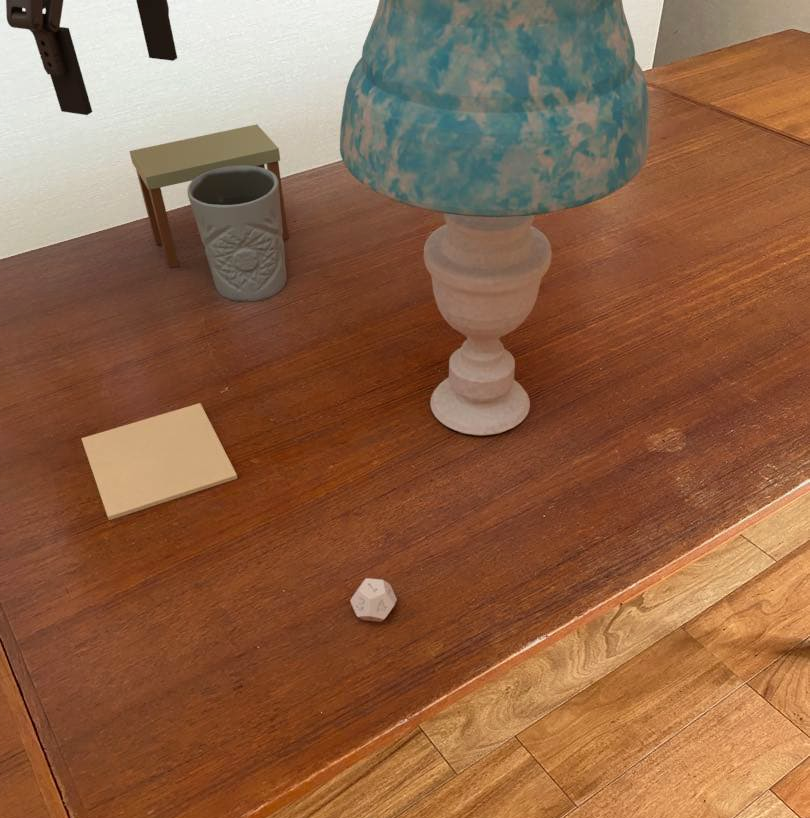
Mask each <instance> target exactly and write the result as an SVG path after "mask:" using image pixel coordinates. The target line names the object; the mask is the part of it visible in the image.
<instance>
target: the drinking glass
mask: <svg viewBox="0 0 810 818" xmlns="http://www.w3.org/2000/svg"><path fill="white" fill-rule="evenodd" d="M187 197H188V200H189V203H190V207H191V210H192V213H193V217H194V219H195V222H196V226H197V230H198V233H199V236H200V240H201V242H202V245H203V247H204V252H205V256H206V259H207V262H208V266H209V269H210V273H211V275H212V279H213V283H214V286H215V291H216V292H218V294H219V295H220V296H221V297H223V298H226V299H227V300H230V301H235V302H244V303H246V302H247V303H250V302H258V301H262V300H266V299H269V298H271V297H273V296H275V295H277V294H278V293H280V292H281V291H282V290H283V289H284V287H285V286H286V283H287V278H288V277H287V267H286V253H285V252H286V251H285V242H284V240H283V239H282V236H283V228H282V217H281V207H280V194H279V184H278V178H277V177H276V175H275V174H274V173H273V172H271V171H269V170H267V168H265V169H264V168H261V167H256V166H228V167H223V168H218V169H214V170H211V171H208V172H206V173H203V174H201V175H200V176H198V177H196V178H195V179H194V180H192V181H190V183H189V184H188V186H187Z"/></svg>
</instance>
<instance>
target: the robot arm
mask: <svg viewBox="0 0 810 818" xmlns="http://www.w3.org/2000/svg"><path fill="white" fill-rule="evenodd" d="M135 1H136V5H137V11H138V15H139V19H140V23H141V27H142V31H143V37H144V41H145V46H146V49H147V55H148V58H149V59H154V60H155V59H156V60H164V61H171V62H173V61H175V60H177V59H178V54H177V49H176V44H175V39H174V34H173V30H172V25H171V19H170V9H169V8H170V7H169V2H168V0H135ZM63 6H64V0H5V9H6V21H7V23H8V25H9V27H11V28H14V29H22V30H27V31H28V30H29V31H30V32H31V33H32V35H33V37H34V40H35V43H36V47H37V51H38V54H39V55H40V59H41V63H42V66H43V70H44V71H45V72H46V74H47V75H50V79H51V82H52V85H53V89H54V91H55V95H56V98H57V102H58V105H59V108H60V111H61V112H63V113H70V114H75V115H83V116H89V115H90V114H91V113H93V109H92V106H91V102H90V99H89V95H88V91H87V87H86V84H85V81H84V77H83V74H82V69H81V66H80V63H79V59H78V55H77V53H76V48H75V45H74V42H73V38H72V34H71V32H70V28H69V27H64V26H61V19H62V13H63ZM23 9H25V10H23ZM43 10H45V12H44V11H43ZM43 12H44V13H43Z"/></svg>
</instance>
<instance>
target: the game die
mask: <svg viewBox="0 0 810 818" xmlns="http://www.w3.org/2000/svg"><path fill="white" fill-rule="evenodd" d="M397 600H398V599H397V596H396V594H395V592H394V589H393V587H392V585H391V584H390V583H389V582H388V581H386V580H385V579H379V578H371V577H370V578H368V577H365V579H364V580H363V581H362V582H361V584H360V585H359V587H358V588H357V589H356V591H355V592H354V593H353V595H352V597H351V599H350V600H349V602H350V605H351V606H352V608H353V611H354V613H355V615H356V617H357V618H359V619H361V620H363V621H367V622H368V621H369V622H376V623H377V622H378V623H382V622H383V621H384V620H385V619H386V618H387V617H388V615H389V614H390V612H391V611H392V609H393V608H394V607H395V605H396V603H397Z"/></svg>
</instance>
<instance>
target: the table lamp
mask: <svg viewBox="0 0 810 818" xmlns="http://www.w3.org/2000/svg"><path fill="white" fill-rule="evenodd" d="M366 35H367V36H366V38H365V40H364V43H363V45H362V50H361V51H362V52H361V58H359V60H358V61H357V62H356V64H355V65H354V67H353V70H352V72H351V74H350V77H349V80H348V83H347V85H346V90H345V95H344V101H343V106H342V113H341V121H340V129H339V130H340V131H339V153H340V158H341V159H342V162H343V165H344V167H345V168H346V169H347V170H348V171H349V173H350V174H351V175H352V176H353V177H354V178H355V179H356V181H358V182H360V183H361V184H363V185H364V186H365V187H367V188H368V189H370V190H371V191H372V192H374V193H377V194H378V195H380V196H383V197H385V198H387V199H388V200H391V201H394V202H398V203H400V204H403V205H406V206H410V207H412V208H416V209H421V210H426V211H430V212H434V213H439V214H443V217H444V221H445V224H444V225H441V226H439V227H438V228H437V229H435V230H434V231H432V232H431V234H430V235H429V236H428V237H427V239H426V241H425V243H424V246H423V263H424V266H425V268H426V270H427V272H428V274H430V277H431V285H432V293H433V296H434V297H433V298H434V300H435V303H436V306H437V309H438V311H439V313H440V314H441V316H442V318H443V319H444V321H445V322H446V323H447V324H448V325H449V326H450V327H451V328H452V329H454V330H455V331H456V332H459V333H460V334H462V335H464V336H465V337H466V339H465V340H464V342H463V343H462V344H461V347H459V348H457V349H456V350H455V351H454V352H452V354H451V355H450V357H449V359H448V377H446V378H445V379H444V380H443V381H442V382H439V384H438V386H436V387H435V389H434V390H433V391H432V394H431V397H430V402H429V403H430V404H429V405H430V409H431V413H433V415H434V417H435V418H436V419H437V420H438V421H439V422H440V423H441V424H442V425H444V426H445V427H447V428H449V429H451V430H453V431H456V432H458V433H460V434H463V435H471V436H478V437H484V436H491V435H492V436H493V435H499V434H501V433H504V432H506V431H508V430H511V429H513V428H515V427H516V426H518V425H519V424H521V423H522V422H523V421H524V420H525V419H526V417H527V416H528V414H529V412H530V408H531V400H530V397H529V395H528V392H527V391H526V390H525V389H524V387H523V386H522V384H520V383H519V382H518V381H517V380H516V379H515V371H516V370H515V369H516V360H515V358H514V356H513V355H512V353H511V352H510V351H508V349H505V347H504V344H503V343H502V342H501V340H500V338H502V337H504V336H505V335H507V334H510V333H511V332H514V330H516V329H517V328H518V327H519V326H521V325H522V324H523V323H524V322H525V321H526V319H527V318H528V317H529V316H530V313H531V312H532V311H533V309H534V306H535V304H536V302H537V298H538V294H539V290H540V286H541V281H542V278H543V277H544V276H545V275H546V274H547V272H548V271H549V268H550V265H551V262H552V255H553V252H552V245H551V243H550V240H549V239H548V237H547V236H546V235H545V234H544V233H543V232H542V231H541V230H539V229H537V228H536V227H535V226H533V225H532V224H533V223H534V220H535V216H536V215H544V214H545V215H546V214H550V213H557V212H561V211H566V210H570V209H574V208H578V207H582V206H584V205H585V206H586V205H587V204H590V203H594V202H596V201H599V200H602V199H604V198H606V197H607V196H609V195H611V194H614V193H615V192H617V191H619V190H621V189H622V188H624V187H625V186H627V184H629V183H630V182H631V181H632V180H634V179H635V178H636V177H637V176H638V175H639V174H640V172H642V170H643V168H644V167H645V166H646V163H647V160H648V156H649V153H650V148H651V114H650V106H649V105H650V102H649V92H648V86H647V82H646V81H647V80H646V77H645V73H644V71H643V68H641V66H640V64H639V63H638V61H637V60H636V50H635V43H634V39H633V37H632V34H631V30H630V27H629V24H628V20H627V16H626V14H625V10H624V5H623V0H378V4H377V8H376V12H375V15H374V18H373V20H372V23H371V25H370V28H369V30H368V33H367V34H366Z"/></svg>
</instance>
